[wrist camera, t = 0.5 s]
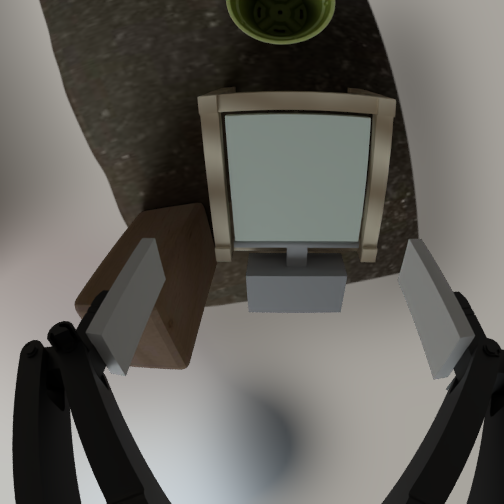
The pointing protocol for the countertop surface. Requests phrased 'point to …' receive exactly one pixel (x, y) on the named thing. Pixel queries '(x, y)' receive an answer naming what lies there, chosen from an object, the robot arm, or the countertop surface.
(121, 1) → the countertop surface
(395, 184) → the countertop surface
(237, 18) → the plant pot
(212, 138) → the frame
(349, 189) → the trapdoor
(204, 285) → the wooden block
